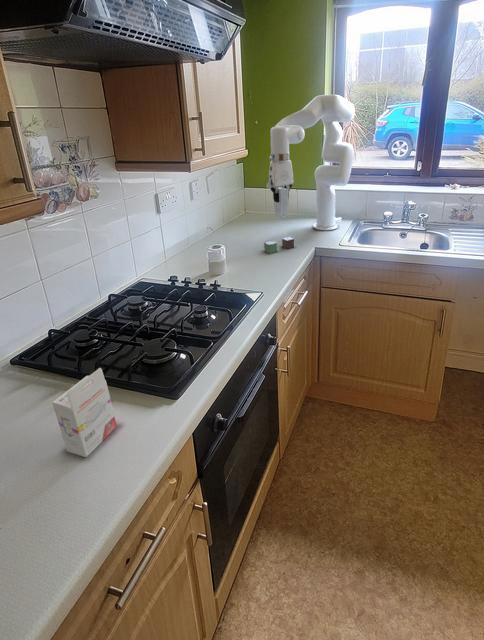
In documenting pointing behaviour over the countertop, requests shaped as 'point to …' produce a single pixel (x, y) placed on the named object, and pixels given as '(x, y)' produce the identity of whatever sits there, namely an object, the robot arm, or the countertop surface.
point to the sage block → (270, 247)
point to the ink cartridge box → (85, 414)
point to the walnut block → (288, 242)
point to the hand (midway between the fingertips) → (281, 200)
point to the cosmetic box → (282, 203)
